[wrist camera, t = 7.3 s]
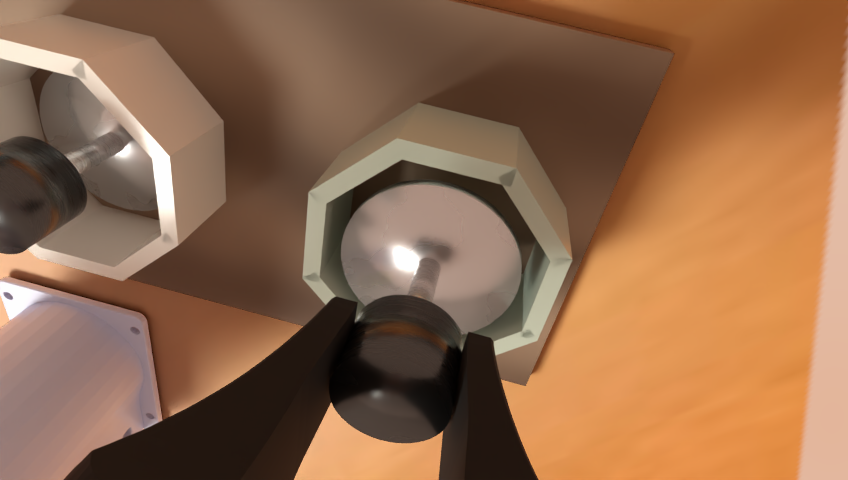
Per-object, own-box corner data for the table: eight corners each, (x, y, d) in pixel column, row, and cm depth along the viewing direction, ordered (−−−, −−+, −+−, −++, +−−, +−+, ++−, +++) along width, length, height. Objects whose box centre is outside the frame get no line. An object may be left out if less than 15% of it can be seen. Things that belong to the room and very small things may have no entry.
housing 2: (518, 326, 22) (516, 388, 19) (328, 276, 22) (298, 329, 19) (591, 145, 17) (603, 189, 14) (348, 85, 17) (313, 117, 15)
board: (525, 376, 24) (525, 386, 23) (47, 247, 25) (37, 253, 24) (669, 49, 16) (674, 53, 15) (-54, -122, 17) (-72, -123, 16)
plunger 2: (494, 347, 19) (480, 503, 14) (336, 305, 19) (266, 443, 14) (546, 207, 15) (554, 346, 10) (354, 158, 16) (271, 271, 11)
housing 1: (227, 249, 22) (183, 297, 19) (47, 202, 23) (-22, 242, 20) (221, 53, 18) (162, 79, 15) (-5, -3, 18) (-105, 12, 15)
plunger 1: (198, 221, 21) (97, 312, 16) (64, 186, 22) (-75, 265, 17) (188, 81, 18) (58, 141, 13) (31, 42, 18) (-154, 86, 13)
